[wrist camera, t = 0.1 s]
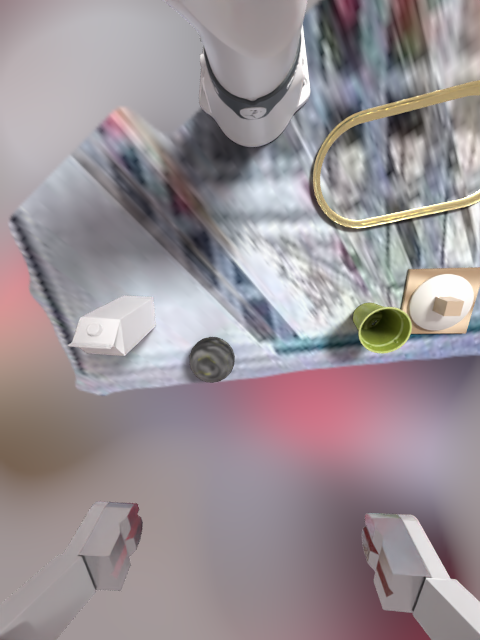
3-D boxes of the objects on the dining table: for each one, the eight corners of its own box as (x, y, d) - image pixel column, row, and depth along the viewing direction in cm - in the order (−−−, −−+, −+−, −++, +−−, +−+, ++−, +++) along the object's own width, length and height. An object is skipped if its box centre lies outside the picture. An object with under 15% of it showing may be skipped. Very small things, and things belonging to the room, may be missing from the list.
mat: (408, 269, 51) (410, 269, 51) (482, 267, 50) (484, 267, 50) (396, 332, 56) (398, 333, 56) (463, 332, 55) (465, 333, 55)
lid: (414, 274, 51) (428, 278, 47) (477, 273, 50) (497, 276, 46) (403, 329, 55) (415, 337, 51) (462, 328, 54) (478, 337, 50)
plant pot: (364, 343, 58) (381, 362, 49) (335, 317, 56) (348, 333, 48) (398, 314, 55) (422, 329, 47) (368, 286, 53) (388, 296, 45)
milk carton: (156, 325, 60) (113, 367, 42) (127, 324, 60) (71, 364, 42) (154, 296, 57) (107, 328, 39) (123, 295, 58) (63, 325, 40)
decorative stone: (198, 325, 59) (187, 344, 50) (240, 335, 59) (236, 355, 50) (192, 362, 62) (180, 386, 53) (232, 371, 62) (227, 396, 53)
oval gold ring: (510, 197, 46) (518, 196, 45) (316, 237, 51) (318, 237, 49) (528, 69, 40) (538, 63, 39) (306, 128, 45) (307, 125, 43)
